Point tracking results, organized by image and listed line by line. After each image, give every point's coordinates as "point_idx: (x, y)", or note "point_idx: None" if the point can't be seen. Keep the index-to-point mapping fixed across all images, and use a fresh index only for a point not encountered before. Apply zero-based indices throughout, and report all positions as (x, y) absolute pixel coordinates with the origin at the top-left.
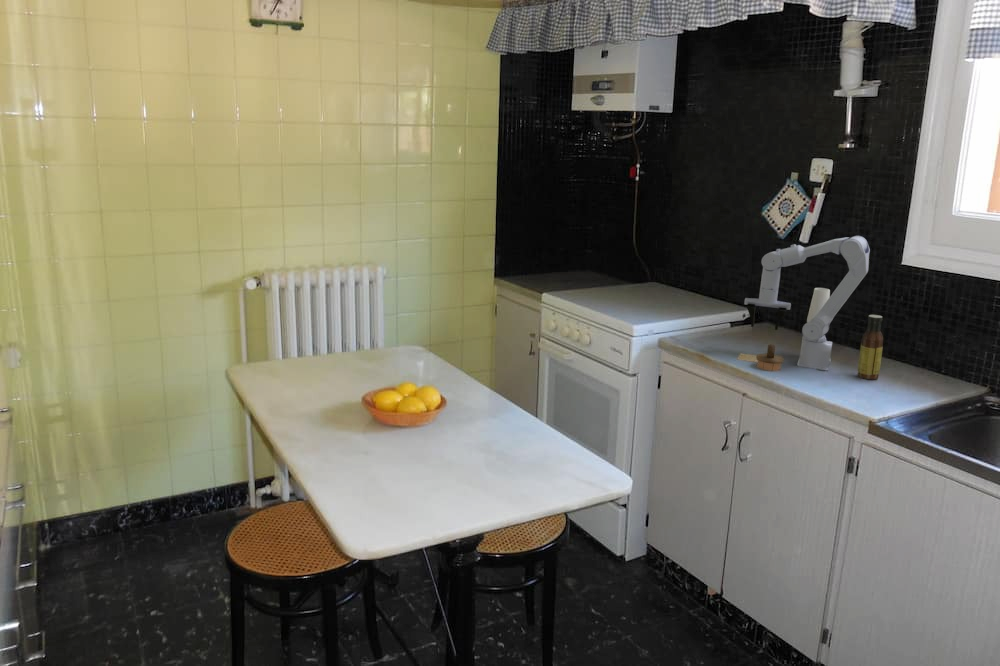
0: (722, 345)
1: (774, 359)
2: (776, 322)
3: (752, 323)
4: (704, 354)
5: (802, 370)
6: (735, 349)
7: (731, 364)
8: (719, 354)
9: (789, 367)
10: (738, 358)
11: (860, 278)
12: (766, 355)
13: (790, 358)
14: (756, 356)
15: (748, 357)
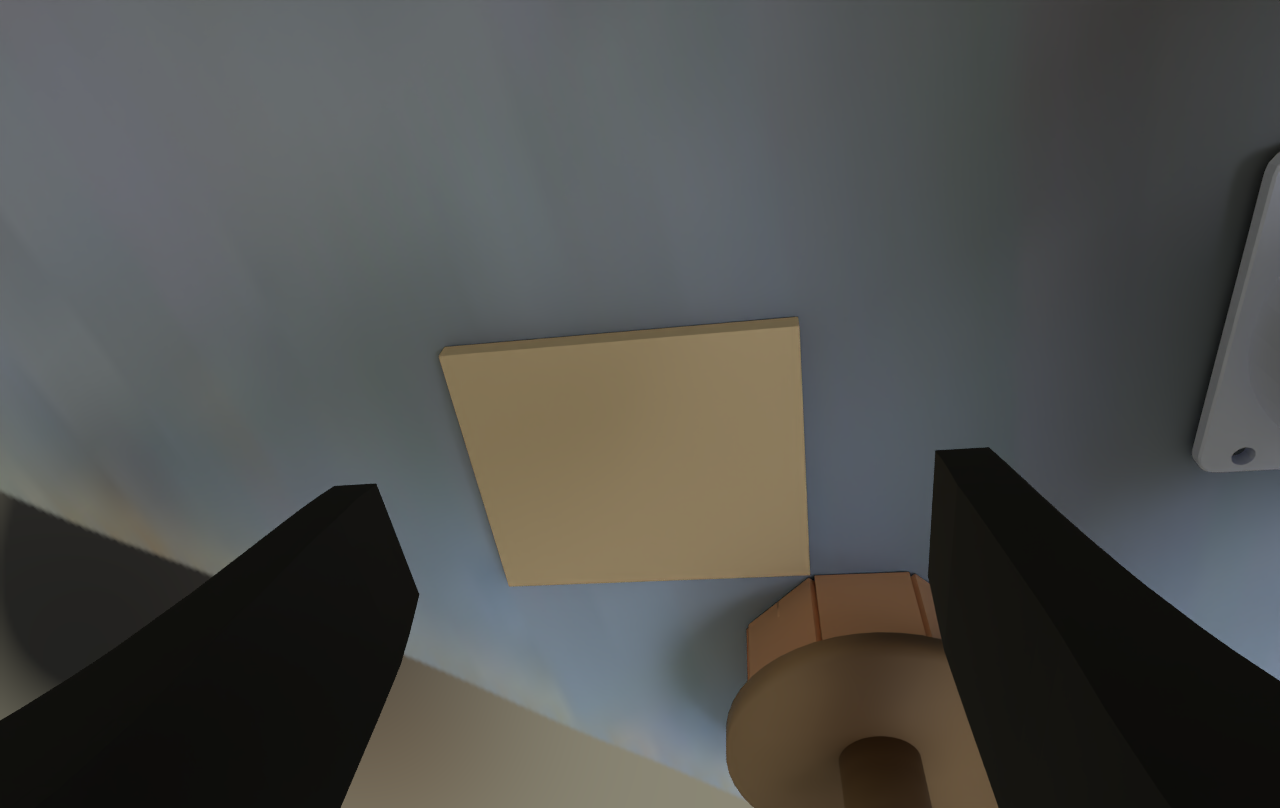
0: (16, 10)
1: (933, 801)
2: (998, 792)
3: (371, 678)
4: (169, 541)
5: (1238, 545)
6: (273, 119)
7: (519, 686)
8: (268, 464)
9: (1085, 516)
10: (510, 557)
11: None
12: (830, 724)
13: (1135, 87)
14: (731, 774)
15: (585, 469)
